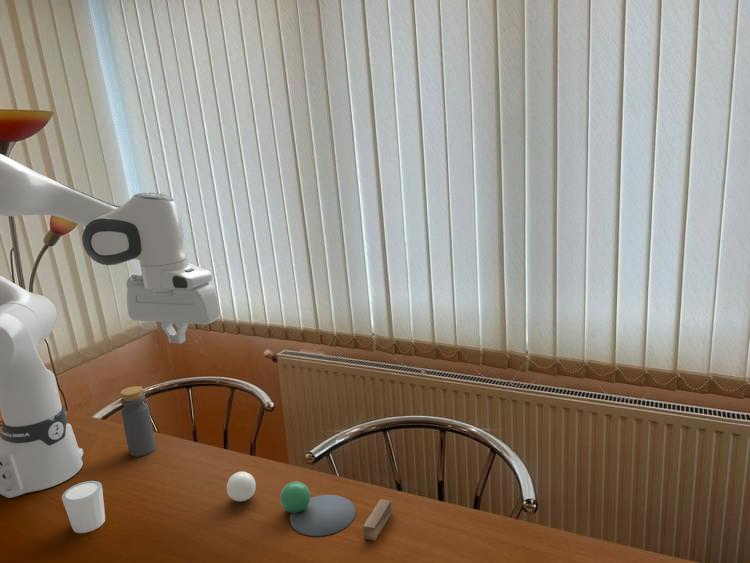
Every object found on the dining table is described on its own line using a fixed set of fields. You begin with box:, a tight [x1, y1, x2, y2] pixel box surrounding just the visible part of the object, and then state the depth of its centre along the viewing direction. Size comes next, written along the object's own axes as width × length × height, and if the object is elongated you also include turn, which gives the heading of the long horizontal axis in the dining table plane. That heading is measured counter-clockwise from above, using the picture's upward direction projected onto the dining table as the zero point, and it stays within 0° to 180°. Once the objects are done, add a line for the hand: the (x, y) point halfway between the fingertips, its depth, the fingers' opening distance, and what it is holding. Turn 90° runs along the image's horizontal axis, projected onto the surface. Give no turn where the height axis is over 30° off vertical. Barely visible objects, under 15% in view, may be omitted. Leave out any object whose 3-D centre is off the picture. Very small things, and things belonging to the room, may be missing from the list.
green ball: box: [279, 481, 311, 514], centre depth 113 cm, size 6×6×6 cm
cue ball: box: [226, 471, 257, 503], centre depth 118 cm, size 6×6×6 cm
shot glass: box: [61, 480, 106, 534], centre depth 114 cm, size 7×7×7 cm
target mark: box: [289, 494, 356, 537], centre depth 111 cm, size 12×12×1 cm
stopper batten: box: [362, 498, 393, 542], centre depth 107 cm, size 2×8×2 cm, turn 158°
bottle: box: [120, 385, 157, 457], centre depth 139 cm, size 6×6×15 cm
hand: (177, 342), depth 123 cm, fingers closed
